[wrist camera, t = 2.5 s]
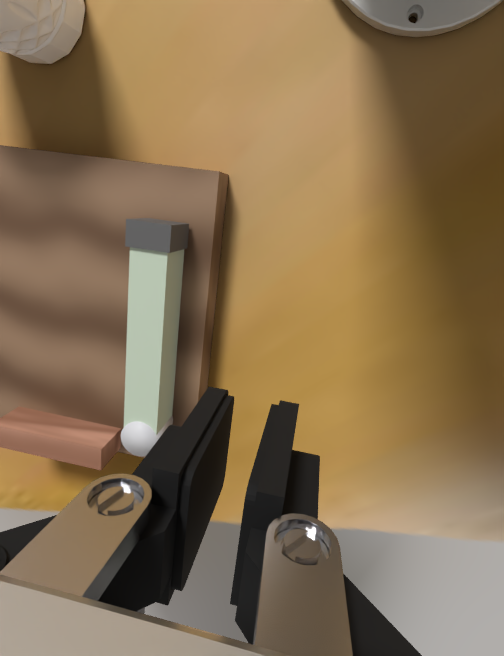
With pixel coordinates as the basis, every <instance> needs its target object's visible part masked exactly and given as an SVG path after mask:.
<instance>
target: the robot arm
mask: <svg viewBox="0 0 504 656" xmlns="http://www.w3.org/2000/svg"><path fill="white" fill-rule="evenodd" d="M342 1H343V2H344V3H345V4H346V5H347V6H348V8H349V9H350V10H351V11H352V12H353V13H354V14H355V15H356V16H357V17H359V18H360V19H362V20H363V21H365V22H366V23H368V24H370V25H371V26H373V27H374V28H377V29H379V30H382V31H385V32H388V33H391V34H393V35H401V36H409V37H421V36H433V35H438V34H442V33H445V32H449V31H452V30H455V29H459V28H461V27H463V26H465V25H467V24H469V23H471V22H473V21H475V20H477V19H479V18H481V17H482V16H483V15H485V14H486V13H487V12H489V11H490V10H492V9H493V8H494V7H496V6H497V5H498V4H500V3H501V2H502V1H503V0H342ZM411 16H414V17H416V19H417V22H416V23H412V22H409V20H408V18H409V17H411ZM233 405H234V396H228V390H224V389H219V388H213V387H208V388H207V390H206V391H205V393H204V394H203V396H202V397H201V399H200V400H199V402H198V403H197V404H196V406H195V407H194V409H193V410H192V412H191V413H190V415H189V416H188V418H187V419H186V420H185V422H184V423H183V425H182V426H176V425H169V426H168V427H167V428H166V430H165V431H164V432H163V434H162V435H161V436H160V438H159V439H158V441H157V442H156V443H155V445H154V446H153V447H152V449H151V450H150V451H149V453H148V454H147V455H146V457H145V458H144V459H143V461H142V462H141V463H140V465H139V466H138V467H137V469H136V470H135V471H134V473H133V474H132V475H130V474H111V475H107V476H103V477H101V478H98V479H96V480H94V481H92V482H91V483H90V484H89V485H87V486H86V487H85V488H84V489H83V490H82V491H81V492H80V493H79V494H78V495H77V496H76V497H75V498H74V499H73V500H72V501H71V502H70V503H69V504H68V505H67V506H66V507H65V508H64V509H63V510H62V511H61V512H60V513H59V514H58V515H55V516H52V517H49V518H46V519H42V520H39V521H36V522H33V523H29V524H26V525H23V526H20V527H16V528H13V529H10V530H7V531H3V532H0V656H422V655H421V654H420V653H419V652H418V651H417V650H416V649H415V648H414V647H413V646H412V645H411V644H410V643H409V642H408V641H407V640H406V639H405V638H404V637H403V636H402V635H401V634H400V632H399V631H398V630H397V629H396V628H395V627H394V626H393V625H392V624H391V623H390V622H389V621H388V620H387V619H386V618H385V617H384V616H383V615H382V614H381V613H380V612H379V610H377V608H376V607H375V606H374V605H373V604H372V603H371V602H370V601H369V600H368V599H367V598H366V597H365V596H364V595H363V594H362V593H361V592H360V591H359V590H358V588H357V587H356V586H355V585H354V584H353V583H352V582H351V581H350V580H349V579H348V578H347V577H346V576H345V575H344V574H343V569H342V561H341V552H340V546H339V543H338V540H337V538H336V536H335V535H334V533H333V532H332V530H331V529H330V528H329V527H327V526H326V525H325V524H324V523H323V522H321V521H319V520H318V493H319V465H320V456H318V455H314V454H309V453H304V452H299V451H295V450H292V446H293V440H294V433H295V427H296V420H297V414H298V407H299V404H296V403H291V402H285V401H280V403H279V405H274V404H272V405H271V408H270V412H269V415H268V418H267V422H266V425H265V429H264V432H263V435H262V439H261V442H260V445H259V449H258V452H257V456H256V459H255V462H254V466H253V469H252V472H251V476H250V479H249V483H248V487H247V491H246V497H245V502H244V509H243V516H242V523H241V531H240V538H239V545H238V552H237V559H236V566H235V574H234V580H233V587H232V594H231V601H230V604H232V605H236V606H237V611H236V618H235V621H236V623H237V625H238V626H239V628H240V629H241V631H242V633H243V634H244V636H245V637H246V639H247V641H248V643H245V642H241V641H238V640H235V639H231V638H227V637H224V636H220V635H217V634H213V633H210V632H206V631H203V630H199V629H196V628H192V627H188V626H185V625H181V624H178V623H174V622H171V621H167V620H164V619H160V618H157V617H153V616H149V615H146V614H144V613H145V607H146V606H148V605H150V604H153V603H155V602H157V603H161V604H165V605H168V604H169V601H170V599H171V597H172V594H173V592H174V590H175V589H176V590H180V591H182V590H183V588H184V586H185V583H186V580H187V578H188V575H189V573H190V570H191V568H192V565H193V562H194V560H195V557H196V554H197V552H198V549H199V547H200V544H201V542H202V539H203V537H204V534H205V531H206V529H207V526H208V523H209V521H210V518H211V516H212V513H213V511H214V508H215V505H216V503H217V500H218V498H219V495H220V492H221V490H222V487H223V483H224V478H225V471H226V463H227V454H228V446H229V438H230V430H231V422H232V413H233Z"/></svg>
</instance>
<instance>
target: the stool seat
mask: <svg viewBox="0 0 504 656" xmlns="http://www.w3.org/2000/svg"><path fill="white" fill-rule="evenodd" d="M227 185H228V175H227V174H224V173H222V172H218V171H210V170H202V169H193V168H185V167H177V166H168V165H160V164H152V163H143V162H135V161H127V160H118V159H110V158H102V157H93V156H85V155H77V154H68V153H60V152H52V151H43V150H35V149H27V148H18V147H10V146H2V145H0V447H2V448H6V449H11V450H15V451H19V452H24V453H28V454H32V455H37V456H41V457H45V458H50V459H54V460H58V461H62V462H67V463H71V464H75V465H80V466H84V467H88V468H93V469H97V470H102V469H103V468H104V466H105V465H106V464H107V463H108V462H109V461H110V460H111V458H112V457H113V456H114V455H115V454H116V453H117V452H121V453H126V454H130V455H133V454H131V453H130V452H128V451H127V450H126V449H125V447H124V446H123V444H122V442H121V432H122V429H123V428H124V402H125V373H126V344H127V314H128V285H129V256H130V247H126V246H125V235H126V219H137V218H152V219H159V220H166V221H173V222H181V223H188V224H189V234H188V247H187V249H184V262H183V275H182V289H181V303H180V316H179V330H178V344H177V357H176V371H175V385H174V398H173V412H172V416H173V424H172V425H176V426H182V425H183V423H184V422H185V420H186V419H187V418H188V416H189V415H190V413H191V412H192V410H193V409H194V407H195V406H196V404H197V403H198V402H199V400H200V399H201V397H202V396H203V394H204V393H205V391H206V390H207V386H208V376H209V366H210V356H211V346H212V336H213V326H214V316H215V306H216V296H217V286H218V276H219V266H220V256H221V246H222V236H223V226H224V216H225V205H226V195H227ZM135 456H136V455H135ZM139 457H144V458H145V457H146V456H139Z"/></svg>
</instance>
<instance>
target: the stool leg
mask: <svg viewBox="0 0 504 656" xmlns="http://www.w3.org/2000/svg"><path fill="white" fill-rule="evenodd" d="M188 234H189V224H188V223H181V222H173V221H166V220H159V219H152V218H137V219H126V235H125V246H126V247H130V256H129V285H128V314H127V344H126V373H125V402H124V428H123V429H122V432H121V442H122V444H123V446H124V447H125V449H126V450H127V451H128V452H130V453H131V454H133V455H136V456H146V455H147V454H148V453H149V451H150V450H151V449H152V447H153V446H154V445H155V443H156V442H157V441H158V439H159V438H160V436H161V435H162V434H163V432H164V431H165V430H166V428H167V427H168V426H169V425H172V424H173V416H172V412H173V398H174V385H175V371H176V357H177V344H178V330H179V316H180V303H181V289H182V275H183V262H184V249H187V247H188Z"/></svg>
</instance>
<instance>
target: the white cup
mask: <svg viewBox="0 0 504 656" xmlns="http://www.w3.org/2000/svg"><path fill="white" fill-rule="evenodd" d="M84 14H85V4H84V0H0V51H3V52H6V53H9V54H12V55H14V56H16V57H18V58H21V59H23V60H25V61H28V62H30V63H42V64H52V63H54V62H56V61H57V60H59V59H61V58H63V57H64V56H66V55H68V54H69V53H70V52H71V50H72V48H73V47H74V45H75V44H76V42H77V40H78V39H79V37H80V36H81V33H82V26H83V20H84Z"/></svg>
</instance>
